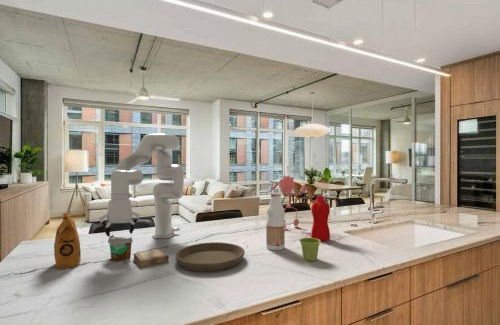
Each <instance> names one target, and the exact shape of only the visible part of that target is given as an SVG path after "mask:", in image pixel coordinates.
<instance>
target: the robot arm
mask: <svg viewBox="0 0 500 325" xmlns="http://www.w3.org/2000/svg"><path fill="white" fill-rule="evenodd" d="M179 142H180V141H179V138H178V136H177V135H175V134H167V133H148V134H145V135H143V137H142V138H141V140H140V142H138V143H139V144H138V145H137V147H136V149H135V150H134V152H132V153H131V154H128V155H127V156H126V157H124V158H122V159H121V160H120V161H119V162H118V163H117V165H116V166H115V168H114V170H113V171H111V173H110V174H111V176H110V180H111V181H110V200H108V202H107V213H105V214H103V215H102V216H100V217H99V218H98V220H99V222H100V224H101V225H103V227H104V228H105V231H104V232H105V235H106V236H107V237H108V238H109V237H110V236H111V229H110V228H111V227H110V226H111V225H112V224H115V223H124V222H125V223H126V222H129V226H128V227H129V230H128V231H129V234H133V232H134V231H135V230H134V229H135V228H134V227H135V226H134V225H135V224H136V223H137V222H138V220H139V218H140V216H141V215H140V214H139V213H137V212H134V211H133V208H132V207H133V206H132V200H131V199H130V198H132V197H133V193H130V186H137V185H139V184H141V183H142V182H143V181H144V174H143V172H142V171H140V170H139V169H133V168H135V167H138V166H142V165H144V164H146V163H148V162H150V161H151V159H152V156H153V154H154V153H155V156H156V178H157V179H158V181H167V182H158V183H155V185H154V186H153V188H152V189H153V190H152V193H153V198H154V233H152V237H153V238H154V239H168V238H171V237H174V236H175V232H179V231H180V230H181V229H180V227H172V226H173V223H172V218H173V217H172V215H173V214H172V211H173V210H172V209H173V208H172V203H171V201H170V200H181V198H182V197H183V195H184V179H185V176H184V175H185V173H184V172H185V171H184V169H183V167H182V166H181V165H180V164H172V154H171V153H170V151H169V150H175V149H177V148H178V147H179V144H180V143H179ZM168 181H169V182H168ZM171 181H172V182H171ZM133 216H135V217H134V218H133ZM105 219H107V220H106V222H105V221H104V220H105Z"/></svg>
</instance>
